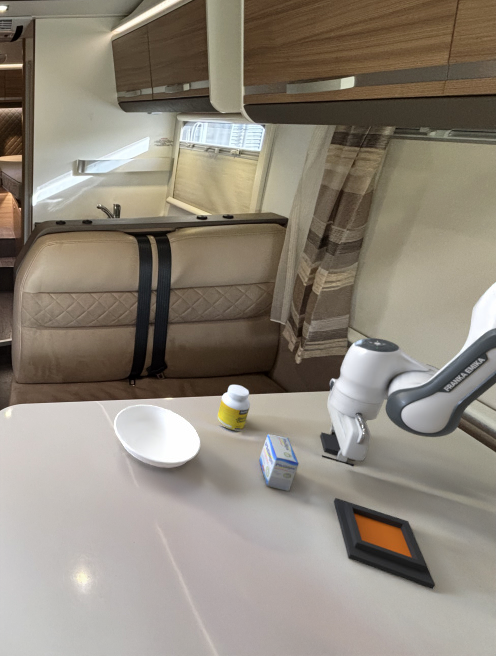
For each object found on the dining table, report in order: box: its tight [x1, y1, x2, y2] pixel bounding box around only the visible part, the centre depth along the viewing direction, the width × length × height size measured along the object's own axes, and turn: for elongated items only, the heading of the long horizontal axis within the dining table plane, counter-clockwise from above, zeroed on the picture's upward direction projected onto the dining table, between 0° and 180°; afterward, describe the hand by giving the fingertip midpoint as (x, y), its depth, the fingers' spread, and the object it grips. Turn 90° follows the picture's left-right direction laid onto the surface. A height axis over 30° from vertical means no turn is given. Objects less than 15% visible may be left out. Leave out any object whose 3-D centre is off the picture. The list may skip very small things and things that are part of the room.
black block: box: [319, 431, 356, 467], centre depth 104 cm, size 6×6×3 cm
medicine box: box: [258, 433, 299, 492], centre depth 97 cm, size 8×4×9 cm, turn 161°
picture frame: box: [333, 497, 436, 590], centre depth 84 cm, size 12×14×3 cm
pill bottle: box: [216, 384, 251, 434], centre depth 112 cm, size 6×6×12 cm
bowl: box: [113, 404, 201, 469], centre depth 105 cm, size 20×20×6 cm
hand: (337, 447), depth 104 cm, fingers open, 7 cm apart
